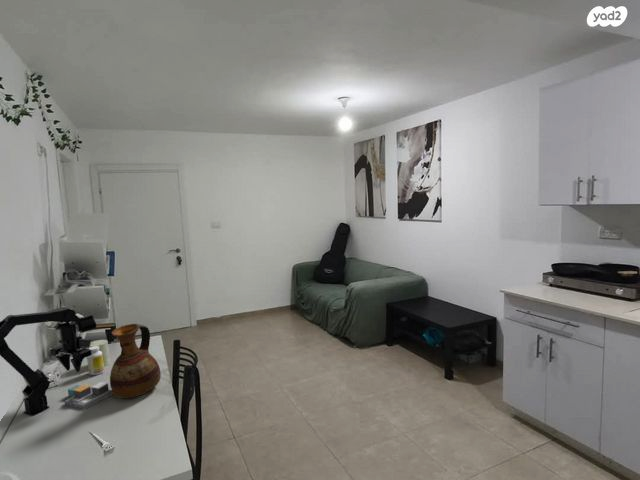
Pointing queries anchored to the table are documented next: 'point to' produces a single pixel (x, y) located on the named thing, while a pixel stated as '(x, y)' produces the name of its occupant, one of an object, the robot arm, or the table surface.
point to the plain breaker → (100, 388)
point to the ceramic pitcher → (133, 364)
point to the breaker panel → (87, 400)
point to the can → (102, 349)
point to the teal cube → (72, 391)
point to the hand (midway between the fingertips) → (73, 371)
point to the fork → (102, 442)
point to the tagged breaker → (82, 391)
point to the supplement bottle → (95, 361)
